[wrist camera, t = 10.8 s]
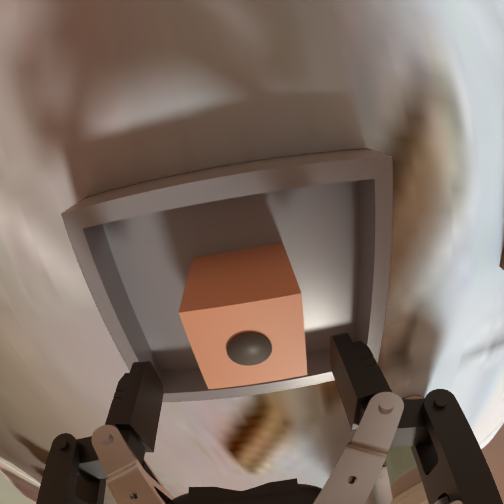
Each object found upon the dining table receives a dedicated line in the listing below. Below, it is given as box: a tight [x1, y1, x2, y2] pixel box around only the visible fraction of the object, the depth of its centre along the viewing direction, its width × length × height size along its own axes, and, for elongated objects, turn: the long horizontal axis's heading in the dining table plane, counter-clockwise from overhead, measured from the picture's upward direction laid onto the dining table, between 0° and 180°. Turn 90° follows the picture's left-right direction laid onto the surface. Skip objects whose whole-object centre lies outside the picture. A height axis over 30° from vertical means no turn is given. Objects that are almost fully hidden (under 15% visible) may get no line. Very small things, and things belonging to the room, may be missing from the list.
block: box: [179, 243, 307, 389], centre depth 15 cm, size 5×5×5 cm
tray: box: [61, 149, 393, 402], centre depth 17 cm, size 14×16×3 cm
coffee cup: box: [385, 396, 429, 504], centre depth 21 cm, size 8×9×12 cm
